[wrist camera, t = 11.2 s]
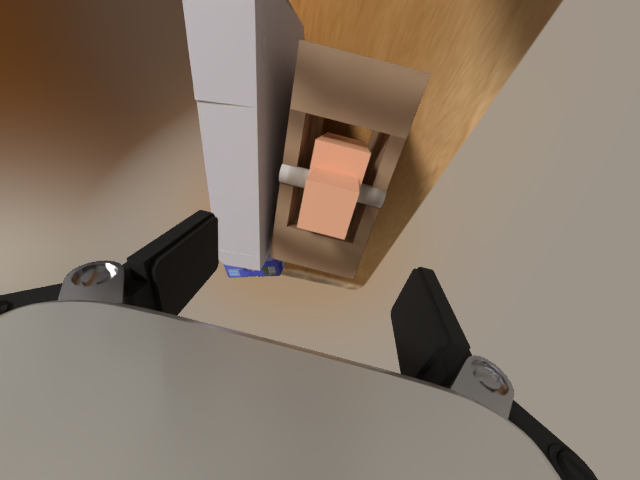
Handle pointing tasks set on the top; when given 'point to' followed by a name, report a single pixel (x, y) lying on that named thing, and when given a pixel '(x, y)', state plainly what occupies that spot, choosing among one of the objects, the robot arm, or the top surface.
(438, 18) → the top surface
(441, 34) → the top surface
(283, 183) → the wooden rack
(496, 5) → the top surface
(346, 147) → the salmon stepped block
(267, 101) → the game console
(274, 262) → the ink cartridge box
